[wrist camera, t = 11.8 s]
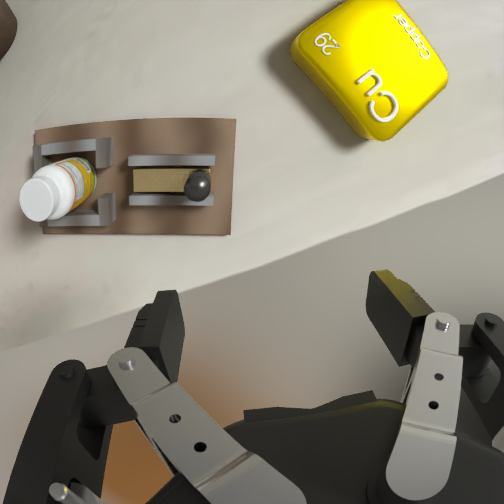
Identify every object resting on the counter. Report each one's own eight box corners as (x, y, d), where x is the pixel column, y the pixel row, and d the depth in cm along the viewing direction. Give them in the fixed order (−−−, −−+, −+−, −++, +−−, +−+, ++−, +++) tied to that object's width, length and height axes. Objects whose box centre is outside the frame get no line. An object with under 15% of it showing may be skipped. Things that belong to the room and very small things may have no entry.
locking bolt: (137, 188, 32) (122, 201, 27) (137, 167, 31) (121, 176, 26) (211, 189, 33) (210, 202, 28) (212, 167, 32) (210, 175, 27)
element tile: (434, 81, 31) (457, 79, 27) (364, 145, 34) (383, 149, 30) (364, -9, 26) (382, -21, 22) (281, 49, 29) (290, 39, 25)
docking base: (46, 231, 33) (34, 240, 30) (38, 129, 28) (24, 131, 25) (230, 232, 36) (231, 242, 33) (235, 119, 31) (237, 118, 28)
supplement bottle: (60, 202, 32) (17, 229, 23) (57, 158, 29) (11, 173, 21) (98, 201, 32) (62, 229, 23) (97, 154, 30) (57, 168, 21)
